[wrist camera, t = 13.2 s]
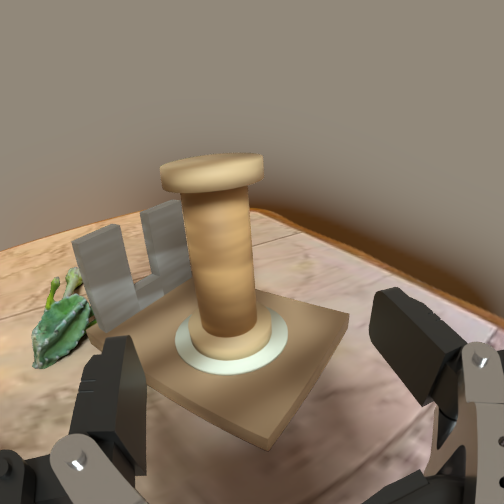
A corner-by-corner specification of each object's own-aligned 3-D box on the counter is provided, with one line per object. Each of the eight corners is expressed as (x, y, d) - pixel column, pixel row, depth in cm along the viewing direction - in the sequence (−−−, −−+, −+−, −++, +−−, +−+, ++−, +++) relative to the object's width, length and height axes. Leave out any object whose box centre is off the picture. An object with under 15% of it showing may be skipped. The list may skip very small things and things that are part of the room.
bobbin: (174, 341, 22) (139, 170, 17) (223, 302, 27) (206, 153, 22) (241, 372, 19) (218, 171, 14) (286, 322, 24) (281, 153, 18)
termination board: (91, 343, 24) (56, 244, 21) (186, 280, 34) (173, 196, 30) (268, 451, 15) (261, 324, 11) (347, 328, 25) (358, 218, 21)
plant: (168, 292, 34) (158, 237, 31) (75, 391, 20) (43, 326, 17) (79, 276, 38) (67, 232, 35) (-7, 342, 24) (-30, 291, 21)
